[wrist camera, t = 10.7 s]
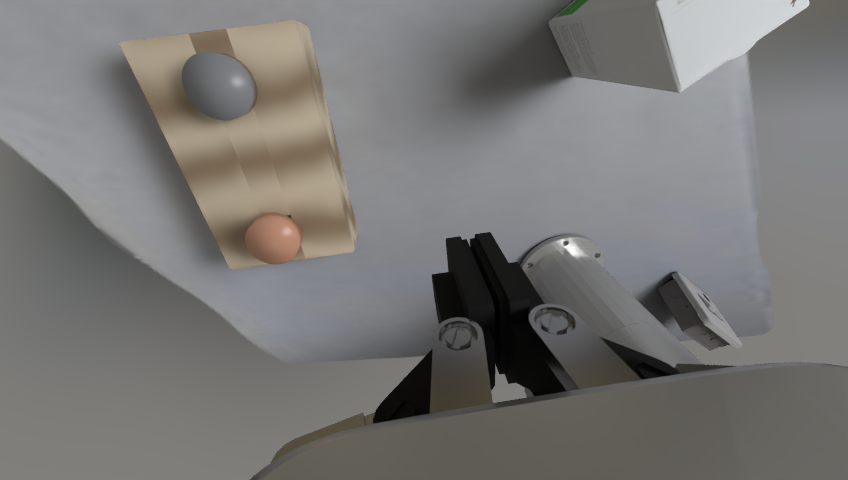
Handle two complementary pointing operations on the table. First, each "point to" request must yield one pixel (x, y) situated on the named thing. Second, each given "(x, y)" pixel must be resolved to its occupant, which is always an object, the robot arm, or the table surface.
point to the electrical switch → (697, 314)
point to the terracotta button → (273, 238)
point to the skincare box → (662, 37)
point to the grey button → (219, 85)
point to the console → (254, 138)
